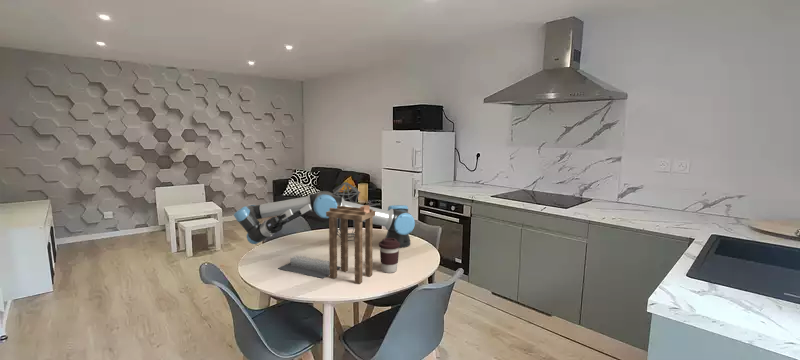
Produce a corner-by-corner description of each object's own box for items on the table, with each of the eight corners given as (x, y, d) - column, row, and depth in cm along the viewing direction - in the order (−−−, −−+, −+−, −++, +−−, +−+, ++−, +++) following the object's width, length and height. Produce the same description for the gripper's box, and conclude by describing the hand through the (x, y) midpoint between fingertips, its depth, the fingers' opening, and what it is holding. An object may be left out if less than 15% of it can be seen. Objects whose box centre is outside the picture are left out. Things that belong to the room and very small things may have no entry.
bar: (290, 265, 181) (290, 257, 180) (296, 263, 184) (296, 255, 184) (329, 273, 172) (329, 265, 171) (334, 270, 175) (334, 262, 175)
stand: (326, 277, 168) (326, 205, 163) (341, 269, 179) (341, 200, 174) (361, 285, 160) (361, 209, 156) (375, 275, 171) (375, 204, 167)
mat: (277, 269, 177) (277, 268, 177) (298, 259, 191) (298, 258, 191) (323, 278, 167) (323, 277, 167) (341, 267, 180) (341, 266, 180)
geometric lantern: (361, 242, 222) (360, 183, 217) (335, 244, 219) (333, 184, 214) (359, 234, 238) (357, 179, 232) (333, 236, 234) (331, 180, 229)
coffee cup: (392, 276, 171) (392, 244, 169) (374, 271, 176) (374, 240, 174) (403, 269, 179) (404, 238, 177) (386, 265, 184) (386, 235, 182)
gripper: (291, 227, 197) (320, 211, 188) (255, 240, 174) (286, 221, 165) (285, 214, 197) (314, 197, 189) (249, 225, 175) (279, 206, 166)
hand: (301, 209), depth 177 cm, fingers open, 13 cm apart
